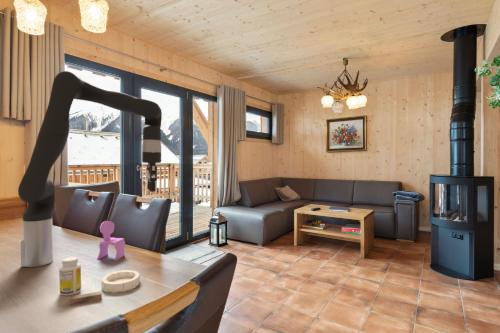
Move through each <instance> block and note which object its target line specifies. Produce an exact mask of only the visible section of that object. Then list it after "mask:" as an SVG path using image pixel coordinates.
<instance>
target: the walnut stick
mask: <svg viewBox="0 0 500 333" xmlns="http://www.w3.org/2000/svg"><path fill="white" fill-rule="evenodd" d="M102 291H103V290H102ZM102 291H96V292H90V293H83V294H77V295H69V298H68V306H74V305H80V304H87V303H91V302H97V301H101V300H102V299H103V298H102V297H103V296H102V295H103V294H102Z"/></svg>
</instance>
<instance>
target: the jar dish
mask: <svg viewBox="0 0 500 333" xmlns="http://www.w3.org/2000/svg"><path fill="white" fill-rule="evenodd" d="M140 281H141V280H140V272H138V271H137V270H129V269H127V270H126V269H125V270H118V271H114V272H111V273H108V274H106V275H105V276H103V278H102V279H101V290H102V291H104V292H106V293H111V294H112V293H113V294H114V293H115V294H116V293H122V292H126V291H130V290H133V289H134V288H136V287H138V286H139V285H140Z"/></svg>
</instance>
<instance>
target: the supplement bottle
mask: <svg viewBox="0 0 500 333" xmlns="http://www.w3.org/2000/svg"><path fill="white" fill-rule="evenodd" d="M78 261H79V258H78V257H76V256H68V257H66V258H63V259H62V261H61V266H60V267H59V268H58V270H59V271H58V272H59V273H58V275H59V276H58V277H59V294H60V295H61V296H67V297H68V296H74V295H75V294H78V293H79V292H80V291H81V290H82V274H81V273H82V271H81V270H82V266H81V263H80V262H78Z"/></svg>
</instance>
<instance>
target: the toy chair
mask: <svg viewBox="0 0 500 333" xmlns="http://www.w3.org/2000/svg"><path fill="white" fill-rule="evenodd" d="M99 231H100V233H101V234H102V236H103V240H101V241H99V244H98V245H99V246H98V247H99V252H98V255H97V258H96V260H100V259H101V258H103V257H106V256H108V255H109V246H111V245H112V246H114V248H115V251H116V255H115V258H114V260H113V261H114V262H116V261H118V260H120V259H122V258H123V256H124V257H125V255H126V254H125V253H126V252H125V247H126V241H125V238H124V237H123V238H122V237H111V234H113V233H114V231H115V223H114V222H113V221H110V220H104V221H103V222H102V223H100V226H99ZM121 257H122V258H121Z"/></svg>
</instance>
